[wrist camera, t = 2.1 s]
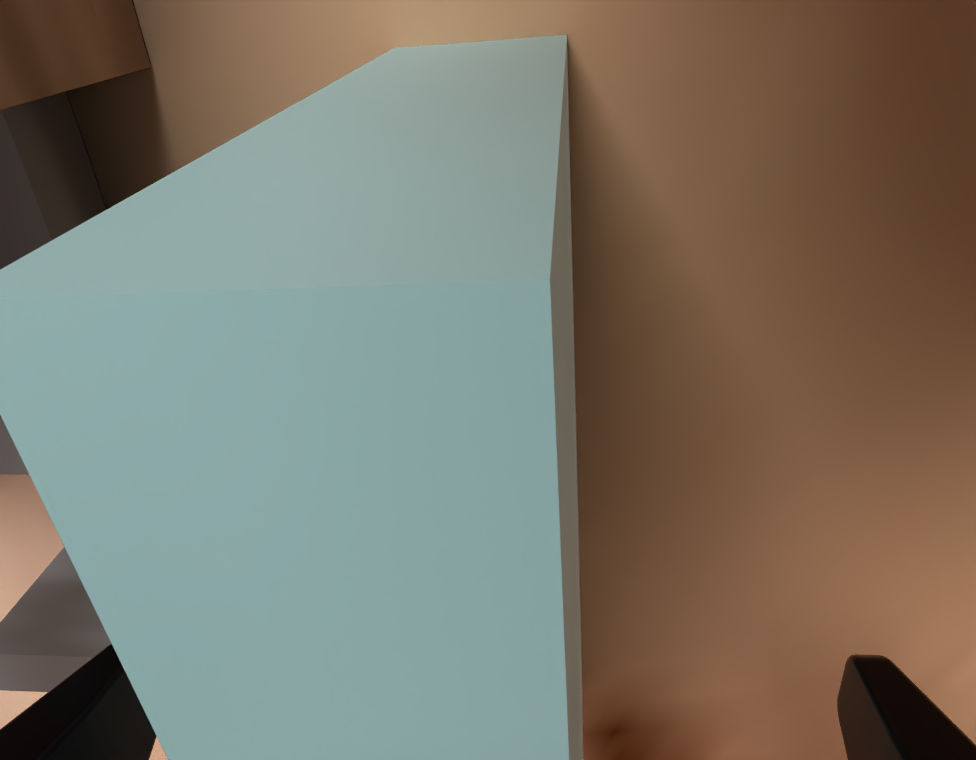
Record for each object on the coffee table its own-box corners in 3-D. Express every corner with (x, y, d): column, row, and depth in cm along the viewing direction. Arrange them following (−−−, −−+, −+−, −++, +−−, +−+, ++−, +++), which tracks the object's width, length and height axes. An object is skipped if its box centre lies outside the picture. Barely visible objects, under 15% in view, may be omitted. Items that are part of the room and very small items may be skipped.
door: (329, 52, 11) (-263, 308, 3) (567, 34, 10) (549, 280, 3) (436, 679, 18) (333, 1235, 10) (582, 683, 17) (589, 1268, 10)
